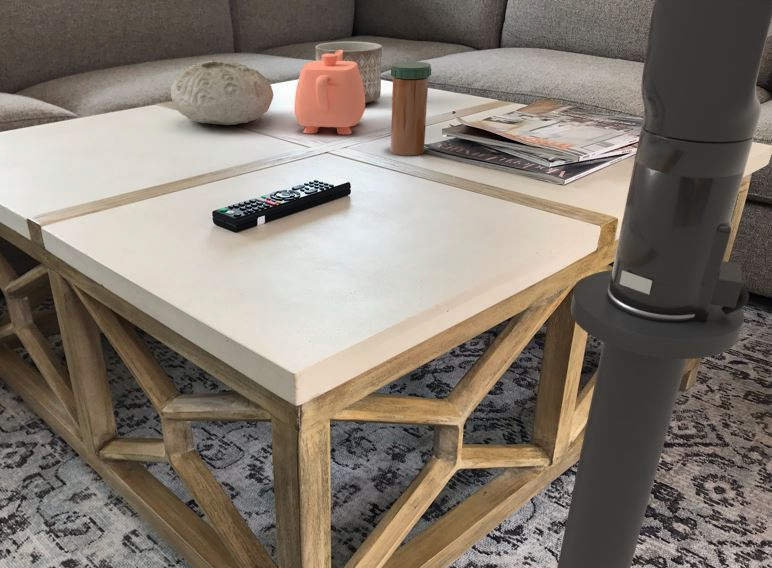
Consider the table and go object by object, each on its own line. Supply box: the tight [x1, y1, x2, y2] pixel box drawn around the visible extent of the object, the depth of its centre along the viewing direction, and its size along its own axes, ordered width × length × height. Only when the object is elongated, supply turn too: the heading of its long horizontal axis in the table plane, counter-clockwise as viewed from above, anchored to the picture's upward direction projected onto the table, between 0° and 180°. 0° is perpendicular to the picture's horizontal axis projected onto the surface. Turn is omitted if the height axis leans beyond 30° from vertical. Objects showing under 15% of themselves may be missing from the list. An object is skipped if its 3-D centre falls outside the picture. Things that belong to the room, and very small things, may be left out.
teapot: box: [294, 50, 366, 135], centre depth 125 cm, size 20×12×12 cm, turn 170°
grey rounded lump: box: [169, 59, 274, 126], centre depth 129 cm, size 18×18×10 cm
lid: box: [390, 61, 432, 79], centre depth 108 cm, size 6×6×2 cm
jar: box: [389, 76, 429, 157], centre depth 111 cm, size 5×5×12 cm
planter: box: [314, 41, 383, 104], centre depth 143 cm, size 13×13×10 cm
